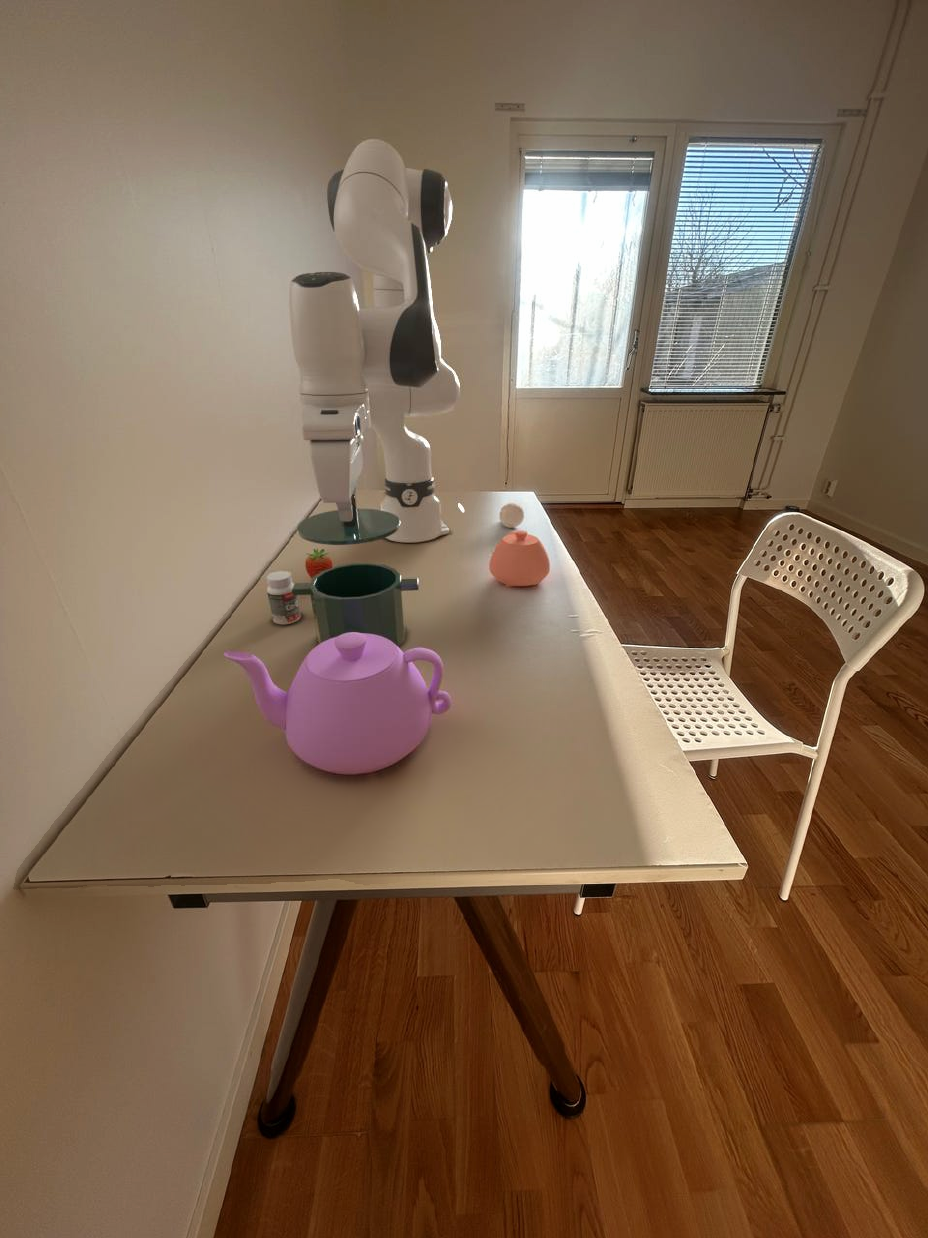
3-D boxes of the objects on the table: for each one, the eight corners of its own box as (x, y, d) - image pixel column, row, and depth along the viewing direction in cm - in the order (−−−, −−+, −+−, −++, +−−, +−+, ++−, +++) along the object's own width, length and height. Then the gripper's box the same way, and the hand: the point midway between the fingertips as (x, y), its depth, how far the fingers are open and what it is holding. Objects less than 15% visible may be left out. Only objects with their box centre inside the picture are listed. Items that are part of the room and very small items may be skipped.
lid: (308, 517, 83) (303, 484, 80) (401, 514, 84) (399, 482, 81) (288, 550, 70) (281, 513, 67) (399, 547, 71) (396, 510, 68)
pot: (310, 620, 91) (301, 565, 86) (420, 615, 92) (417, 560, 87) (294, 663, 78) (282, 602, 73) (421, 657, 80) (418, 596, 75)
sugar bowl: (496, 594, 100) (497, 543, 95) (482, 566, 112) (483, 521, 107) (556, 589, 101) (561, 540, 97) (536, 563, 114) (539, 518, 109)
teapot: (440, 681, 74) (437, 595, 68) (465, 769, 59) (464, 669, 52) (259, 703, 70) (237, 614, 63) (234, 804, 54) (202, 700, 48)
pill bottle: (292, 626, 89) (284, 582, 85) (267, 623, 90) (258, 579, 86) (305, 613, 93) (298, 571, 89) (281, 611, 94) (273, 569, 90)
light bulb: (514, 528, 143) (524, 530, 133) (491, 525, 142) (500, 526, 131) (518, 504, 142) (529, 504, 131) (495, 501, 141) (504, 500, 130)
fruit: (303, 587, 103) (297, 550, 99) (320, 578, 107) (314, 541, 103) (324, 592, 101) (319, 554, 97) (341, 582, 105) (336, 545, 101)
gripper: (325, 406, 78) (336, 497, 85) (298, 427, 60) (315, 540, 67) (367, 406, 78) (375, 496, 85) (352, 426, 60) (364, 538, 67)
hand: (348, 516), depth 76 cm, fingers closed on lid, 2 cm apart
